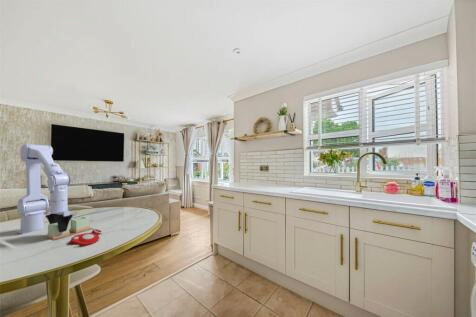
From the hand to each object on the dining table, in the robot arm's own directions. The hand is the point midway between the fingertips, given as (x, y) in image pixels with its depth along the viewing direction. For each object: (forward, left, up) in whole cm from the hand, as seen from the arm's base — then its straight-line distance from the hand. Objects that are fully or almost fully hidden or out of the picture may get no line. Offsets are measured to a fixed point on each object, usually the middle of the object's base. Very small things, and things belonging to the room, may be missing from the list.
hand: (59, 230), depth 83 cm
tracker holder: (+17, +4, -4) cm, 18 cm away
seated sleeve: (0, +8, -2) cm, 8 cm away
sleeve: (0, 0, -2) cm, 2 cm away
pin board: (0, +4, -3) cm, 5 cm away
